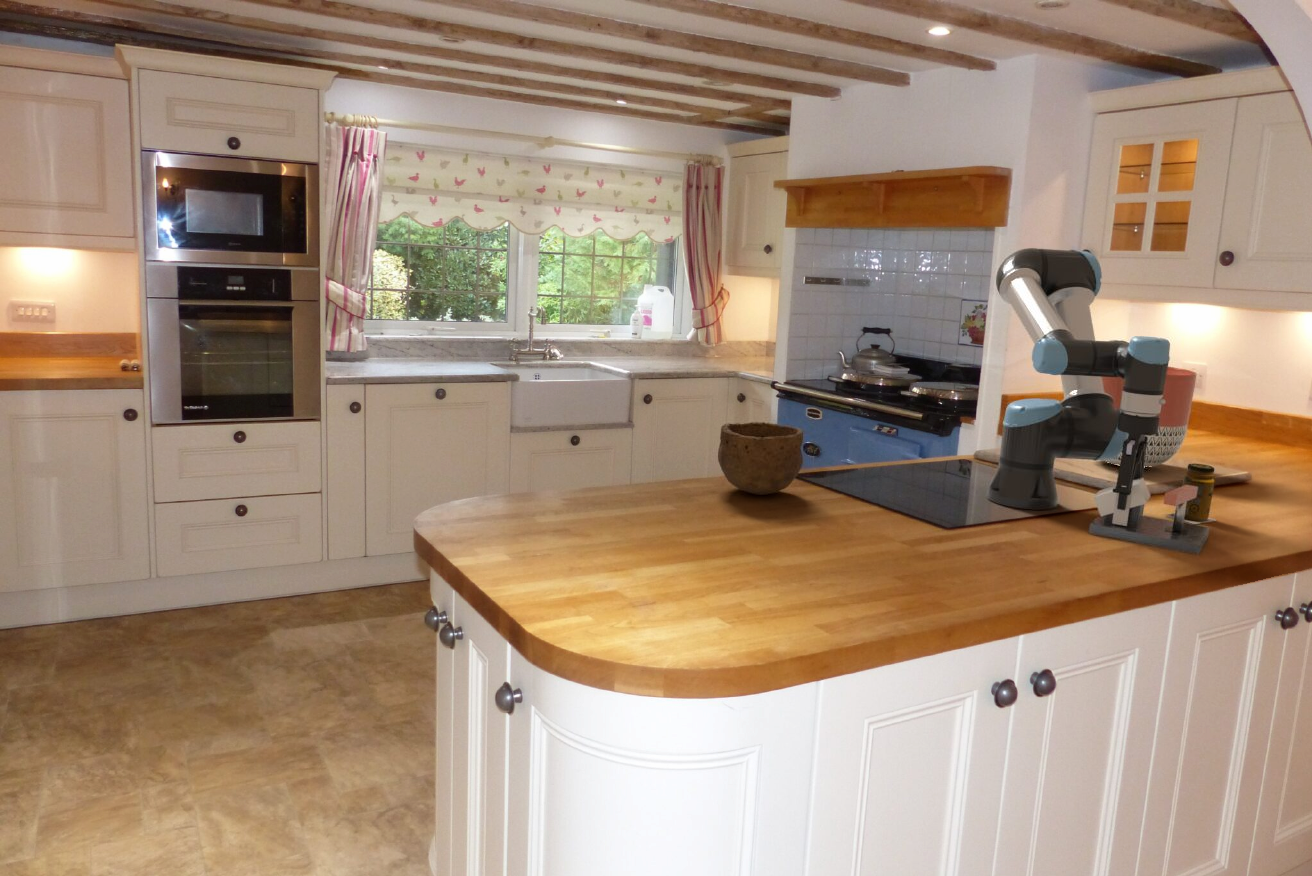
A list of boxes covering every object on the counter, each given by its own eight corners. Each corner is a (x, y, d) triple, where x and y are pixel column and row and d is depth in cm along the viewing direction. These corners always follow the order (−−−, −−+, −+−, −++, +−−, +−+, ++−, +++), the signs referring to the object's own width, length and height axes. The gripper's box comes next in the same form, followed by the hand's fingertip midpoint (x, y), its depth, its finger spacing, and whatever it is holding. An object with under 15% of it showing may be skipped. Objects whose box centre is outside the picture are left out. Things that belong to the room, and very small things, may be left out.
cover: (1100, 516, 207) (1093, 497, 208) (1106, 508, 215) (1099, 490, 215) (1146, 503, 203) (1138, 483, 203) (1150, 496, 210) (1142, 477, 211)
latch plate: (1088, 533, 206) (1093, 500, 205) (1104, 517, 219) (1109, 486, 218) (1197, 554, 195) (1203, 519, 194) (1207, 536, 208) (1213, 504, 207)
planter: (1064, 465, 272) (1077, 366, 267) (1086, 450, 294) (1099, 358, 288) (1172, 482, 257) (1189, 378, 252) (1187, 466, 279) (1203, 369, 273)
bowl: (703, 496, 220) (707, 429, 217) (730, 478, 237) (734, 416, 234) (787, 508, 213) (792, 439, 210) (808, 490, 230) (814, 426, 227)
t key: (1170, 537, 198) (1177, 495, 197) (1158, 534, 200) (1165, 492, 198) (1191, 527, 207) (1197, 486, 205) (1179, 524, 208) (1186, 484, 206)
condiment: (1216, 520, 222) (1225, 467, 219) (1195, 525, 217) (1204, 471, 215) (1184, 512, 228) (1192, 460, 225) (1163, 516, 223) (1171, 463, 221)
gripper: (1150, 422, 194) (1134, 534, 198) (1168, 409, 212) (1152, 512, 216) (1109, 417, 198) (1093, 526, 202) (1129, 404, 216) (1115, 505, 220)
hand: (1124, 519), depth 209 cm, fingers closed on cover, 9 cm apart
